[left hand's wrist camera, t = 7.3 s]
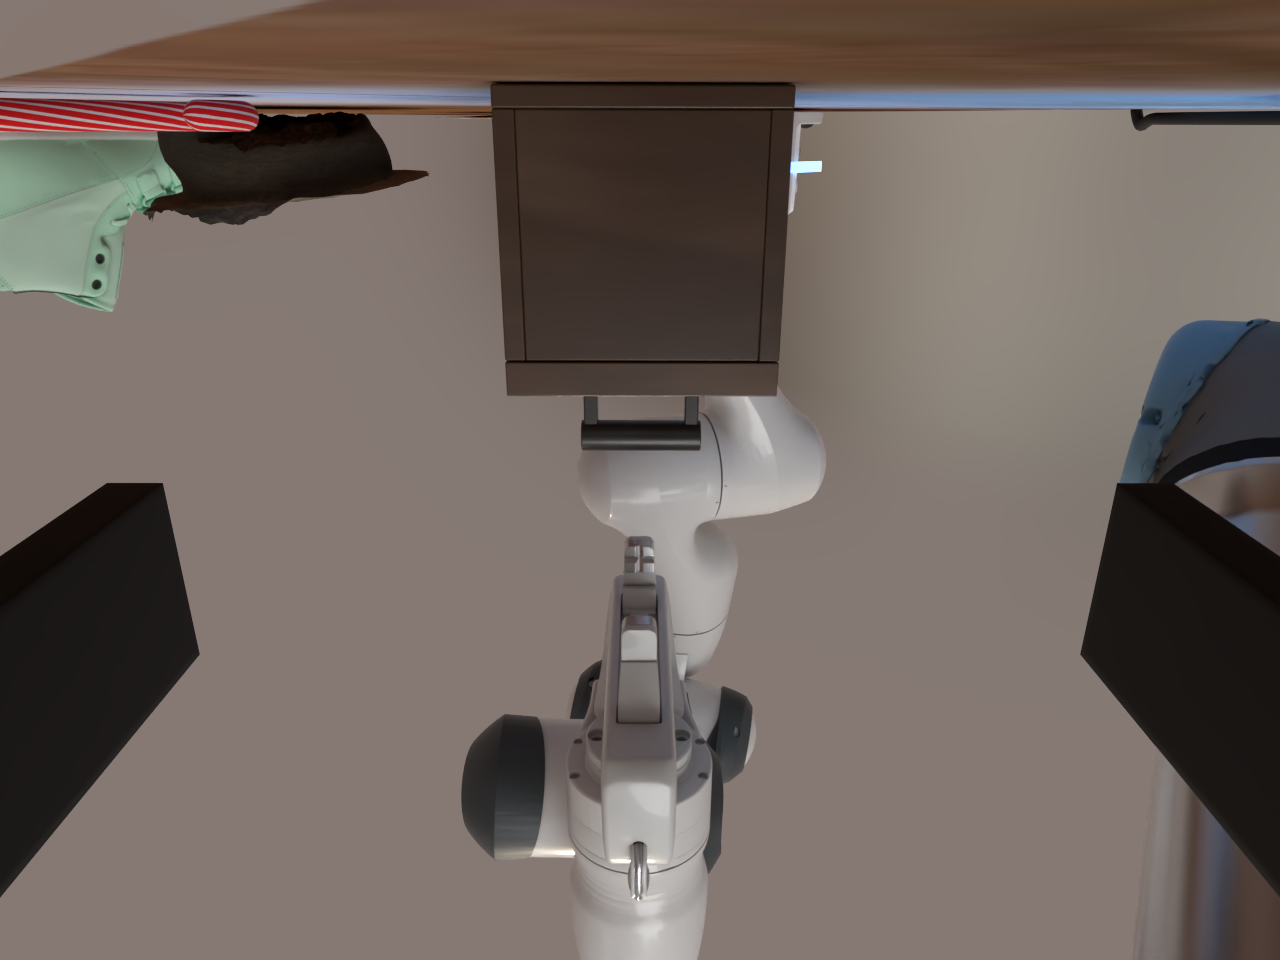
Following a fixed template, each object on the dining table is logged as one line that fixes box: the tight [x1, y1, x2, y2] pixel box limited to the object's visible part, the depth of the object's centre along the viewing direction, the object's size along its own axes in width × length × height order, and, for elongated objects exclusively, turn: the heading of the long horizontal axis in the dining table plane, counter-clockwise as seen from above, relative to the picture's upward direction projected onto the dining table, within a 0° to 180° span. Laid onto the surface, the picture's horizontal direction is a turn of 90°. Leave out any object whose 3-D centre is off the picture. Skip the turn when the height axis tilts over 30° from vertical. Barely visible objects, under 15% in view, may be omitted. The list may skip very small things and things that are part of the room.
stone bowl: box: [143, 112, 429, 225], centre depth 81 cm, size 25×25×9 cm
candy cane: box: [0, 98, 259, 132], centre depth 40 cm, size 6×15×2 cm, turn 34°
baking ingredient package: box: [443, 115, 492, 119], centre depth 119 cm, size 9×1×15 cm
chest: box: [490, 84, 796, 361], centre depth 36 cm, size 15×10×9 cm, turn 0°
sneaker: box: [0, 131, 183, 312], centre depth 100 cm, size 14×34×20 cm, turn 41°
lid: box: [505, 359, 779, 451], centre depth 40 cm, size 16×10×8 cm, turn 0°
